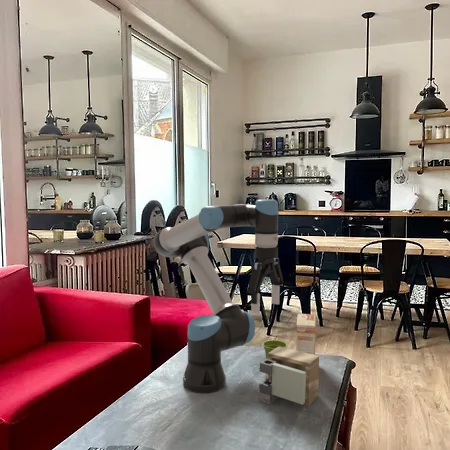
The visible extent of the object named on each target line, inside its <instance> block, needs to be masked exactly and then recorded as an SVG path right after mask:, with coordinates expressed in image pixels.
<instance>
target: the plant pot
mask: <svg viewBox="0 0 450 450" xmlns="http://www.w3.org/2000/svg"><path fill="white" fill-rule="evenodd" d="M262 346H263V349H264V352H265V359H268V353H269V352H271V351H272V350H274V349H276V348H277V347H283V348H287V347H288V344H287V343H286V342H285V341H282V340H279V339H269V340H265V341H263V343H262Z"/></svg>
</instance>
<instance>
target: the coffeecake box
mask: <svg viewBox="0 0 450 450" xmlns="http://www.w3.org/2000/svg"><path fill="white" fill-rule="evenodd" d="M316 323H317V321H316V314H310V313H298V314H297V320H296V335H295V336H296V339H295V340H296V341H295V346H296V347H295V350H296V351H300V352H305V353H309V354H313V355H316V328H317V327H316V326H317V325H316Z"/></svg>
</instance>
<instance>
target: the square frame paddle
mask: <svg viewBox="0 0 450 450" xmlns="http://www.w3.org/2000/svg"><path fill="white" fill-rule="evenodd" d="M259 372H260V373H262V374H265V375H266V374H269V375H271V374H272V381H270V380H269V385H267V384H266V378H265V379H264V380H262V381H260V382H259V384H258V385H259V387H258V391H259V392H260V393H263V394H266V395H269V396H270V395H271V394H272V395H275V396H278V398H282V399H284V400H286V401H287V400H288V401H290V402H294V403H295V404H298V405H302V406H303V405H305V404H304V403H305V387H306V372H304V371H301V370H298V369H294V368H291V367H287V366H284V365H280V364H277V362H276V361H272V360H269V359H266V358H265V359H263V360H262V361H261V362H259Z"/></svg>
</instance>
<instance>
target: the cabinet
mask: <svg viewBox="0 0 450 450" xmlns="http://www.w3.org/2000/svg"><path fill="white" fill-rule="evenodd" d="M268 359H269V360H272V361H276V362H277V364H280V365H284V366H287V367H291V368H294V369H298V370H301V371H304V372H306V387H305V403H304V404H303V405H306V406H310V405H311V404H313V402H314V401H315V400H316V399H318V398H319V385H320V384H319V382H320V380H319V378H320V377H319V376H320V375H319V374H320V371H319V370H320V367H319V366H320V355H317V354H315V355H313V354H309V353H305V352H300V351H296V349H291V348H287V347H286V348H283V347H277V348H276V349H274V350H272V351H271V352H269V353H268ZM265 379H266V384H267V385H269V380H270V381H272V374H271V375H269V374H266V373H265ZM278 398H279V397H278V396H275V395H272V394H271V395H270V396H269V395H266V394H263V393H260V392H259V390H257V401H260V402H263V403H266V404H272V403H273V402H274V401H275V400H277V399H278Z"/></svg>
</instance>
